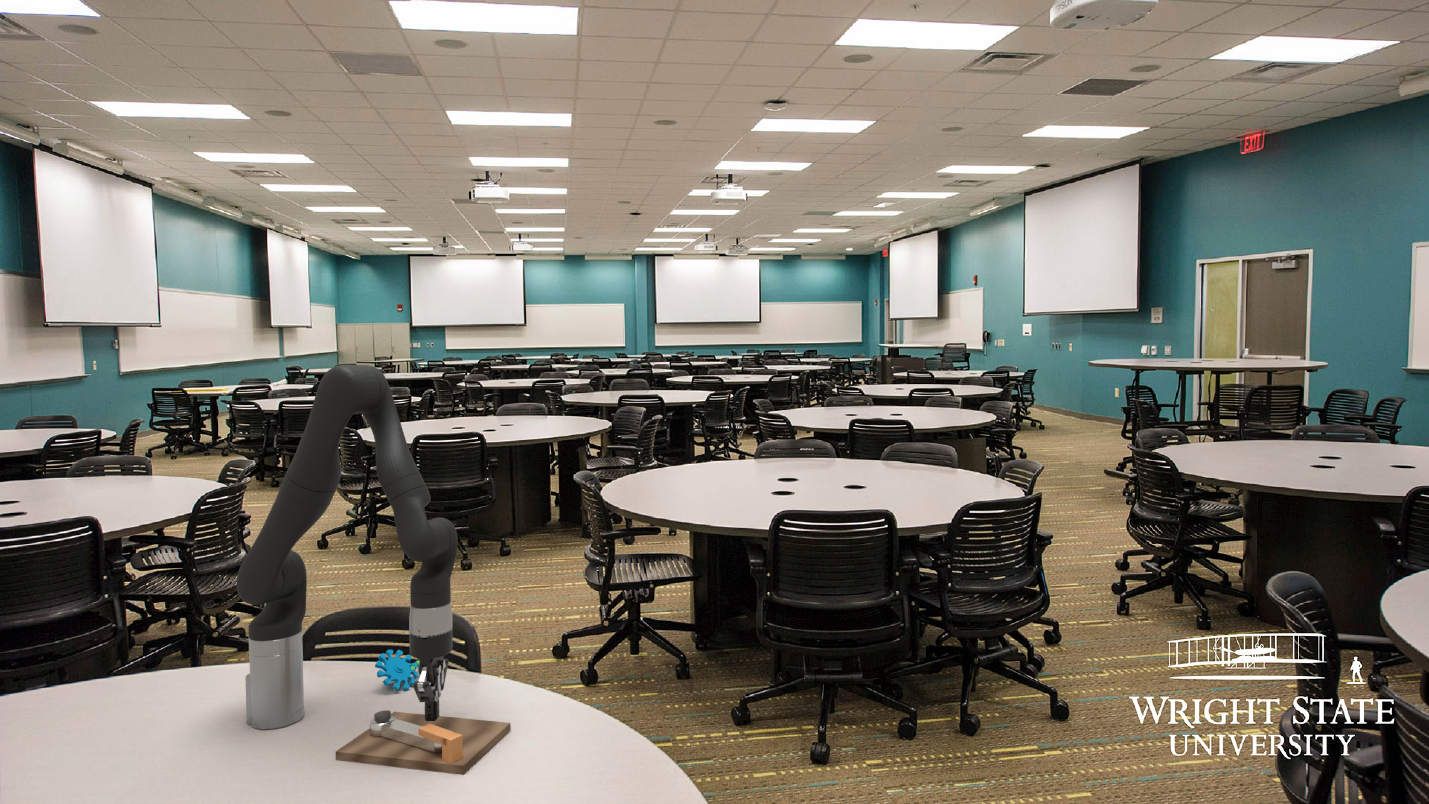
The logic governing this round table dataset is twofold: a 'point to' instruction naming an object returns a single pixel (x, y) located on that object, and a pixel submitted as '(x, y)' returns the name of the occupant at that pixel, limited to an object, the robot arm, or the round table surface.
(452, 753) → the block
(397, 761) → the base plate
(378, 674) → the gear
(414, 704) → the round table surface
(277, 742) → the round table surface
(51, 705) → the round table surface
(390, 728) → the lever
